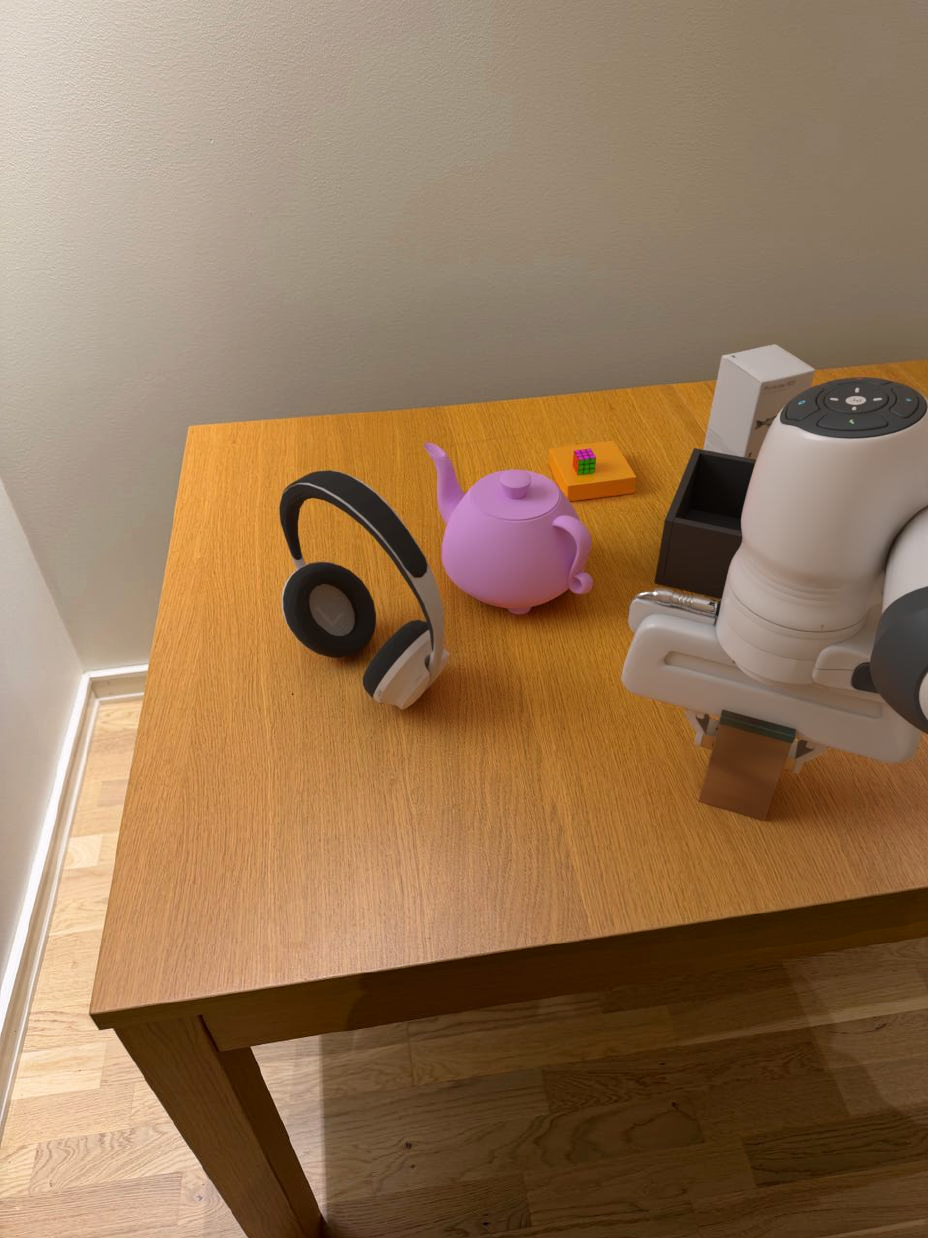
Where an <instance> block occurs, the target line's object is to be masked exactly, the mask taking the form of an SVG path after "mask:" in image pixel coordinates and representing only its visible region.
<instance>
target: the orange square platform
mask: <svg viewBox="0 0 928 1238" xmlns="http://www.w3.org/2000/svg"><path fill="white" fill-rule="evenodd" d="M547 461H548V462H547V465H548V468H549V469H550V471H551V473H552V475H553V477H554V479H555V481H556V483H557V486H558V487H559V488H560V489H561V491H562V492H563V493H564V495H565V496H566V497H567V499H568V500H569V502H570V503H571V502H577V501H585V500H586V501H587V500H593V499H599V498H608V497H616V496H623V495H631V494H635V492H636V484H637V478H638V477H637V475H636V474H635V472H634V470H633V469H632V467H631V465H630V464H629V462H628V460H627V459H626V457H625V456H624V454H623V452H622V451H621V449H620V447H619V446H618V444H617V443H616V441H615V440H606V441H598V442H590V443H581V444H575V445H564V446H557V447H550V448H548V456H547Z"/></svg>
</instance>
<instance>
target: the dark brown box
mask: <svg viewBox="0 0 928 1238" xmlns="http://www.w3.org/2000/svg"><path fill="white" fill-rule="evenodd" d="M755 463H756V459H750V458H745V457H740V456H734V455H729V454H724V453H718V452H713V451H707V450H703V449H702V448H697V447H694V448H693V449H692V452H691V454H690V457H689V459H688V462H687V464H686V467H685V469H684V472H683V474H682V477H681V479H680V482H679V483H678V487H677V489H676V491H675V494H674V496H673V499H672V501H671V503H670V506H669V508H668V510H667V514H666V516H665V519H664V522H663V529H662V534H661V542H660V547H659V553H658V560H657V564H656V571H655V577H654V584H657V585H661V586H665V587H670V588H674V589H678V590H682V591H686V592H691V593H695V594H699V595H704V596H708V597H712V598H717V599H720V600H722V596H723V592H724V587H725V583H726V579H727V575H728V570H729V566H730V564H731V561H732V559H733V557H734V555H735V554H736V552H737V551H738V549H739V548H740V546H741V543H742V530H741V516H742V511H743V506H744V502H745V498H746V494H747V490H748V487H749V483H750V479H751V476H752V473H753V469H754V466H755Z"/></svg>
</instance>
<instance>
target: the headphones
mask: <svg viewBox="0 0 928 1238" xmlns="http://www.w3.org/2000/svg"><path fill="white" fill-rule="evenodd" d="M310 499H316V500H320V501H324V502H326V503H329V504H331V505H333V506H335V507H336V508H338V509H339V510H340V511H342V512H344V513H345V514H347V515H348V516H349V517H350V518H352V519H353V520H354V521H355V522H357V523H358V524H359V525H360V526H362V527H363V528H364V529H365V530H366V531H367V532H368V533H369V534H370V536H372V537H373V539H375V541H376V542H377V543H378V544H379V546H380V547H381V548H382V549H383V551H384V552H385V553H386V554H387V556H389V558H390V559H391V561H392V562H393V563H394V566H395V567H396V568H397V570H398V571H399V573H400V574H401V576H402V577H403V579H404V581H405V582H406V583H407V585H408V586H409V588H410V590H411V591H412V593H413V595H414V597H415V599H416V600H417V602H418V605H419V607H420V609H421V612H422V614H423V616H424V618H425V621H424V620H420V619H413V620H410V621H408V622H406V623H405V624H403V625H402V626H401V627H399V628H398V630H397V631H396V632H394V633H393V634H392V635H391V636H390V637H389V638H388V639H387V640H386V641H385V642H384V643H383V645H382V646H380V648H379V649H378V651H377V652H376V653H375V654H374V656H373V657H372V659H371V660H370V662H369V663H368V666H367V667H366V669H365V670H364V674H363V676H362V686H363V689H364V690H365V692H366V693H367V694H368V695H369V697H371V699H372V700H374V701H375V702H376V703H378V704H379V705H381V704H388V705H392V706H396V707H397V708H398V709H400V710H402V711H403V710H405V709H407V708H408V707H409V708H410V706H411V705H413V704H414V703H416V701H417V700H419V698H420V697H422V695H423V694H424V693H425V692H426V690H428V689H430V687H431V686H432V685H433V683H434V682H435V681H436V680H437V678H438V677H439V676H440V675H441V673H442V672H443V671H444V669H445V668H446V666H447V664H448V662H449V660H450V657H451V654H450V653H449V652H448V651H447V649H446V648H445V609H444V606H443V602H442V601H443V600H442V597H441V594H440V589H439V587H438V584H437V580H436V578H435V575H434V573H433V571H432V568H431V565H430V564H429V561H428V559H427V557H426V555H425V553H424V551H423V550H422V548H421V547H420V545H419V543H418V542H417V540H416V538H415V537H414V536H413V534H412V533H411V531H410V530H409V529H408V527H407V525H406V524H405V523H404V521H403V520H402V519H401V517H400V516H399V514H398V513H397V512H396V511H395V510H394V508H393V507H392V506H391V505H390V504H389V502H388V501H386V500H385V498H384V497H382V496H381V495H380V494H379V493H378V492H377V491H376V490H375V489H374V488H372V487H371V486H370V485H368V484H366V483H365V482H364V481H362V480H360V479H359V478H356V477H355V476H353V475H350V474H348V473H344V472H342V471H340V470H339V471H338V470H331V469H327V470H326V469H325V470H317V471H312V472H310V473H307V474H306V475H304V476H302V477H300V478H298V479H296V480H295V481H293V482H290V483H289V484H288V485H287V486H286V487H285V488H284V489H283V492H282V495H281V498H280V502H279V506H278V510H279V521H280V525H281V528H282V529H281V530H282V531H283V535H284V538H285V541H286V544H287V547H288V550H289V553H290V556H291V559H292V561H293V563H294V567H295V569H296V570H294V571H293V572H292V573H291V575H290V576H289V577H288V578H287V580H286V581H285V584H284V586H283V589H282V592H281V611H282V616H283V619H284V622H285V624H286V625H287V627H288V629H289V631H290V633H291V634H292V635H293V636H294V637H295V639H296V640H297V641H299V643H301V645H302V646H304V647H306V648H307V649H308V650H309V651H310V652H312V653H314V654H316V655H319V656H324V657H327V658H334V659H342V658H349V657H353V656H355V655H358V654H359V653H361V652H362V651H363V650H365V648H367V647H368V645H369V644H370V642H371V641H372V638H373V637H374V634H375V632H376V626H377V611H376V607H375V602H374V601H375V600H374V599H373V597H372V595H371V593H370V590H369V588H368V587H367V586H366V584H365V583H364V582H363V580H362V579H361V578H360V577H359V576H357V574H355V573H354V572H353V571H351V570H350V569H349V568H346V567H344V566H343V565H340V564H336V563H333V562H331V561H313V562H309V563H307V564H306V561H305V557H304V555H303V552H302V547H301V542H300V536H299V519H300V512H301V508H302V506H303V504H304V503H305V501H307V500H310Z"/></svg>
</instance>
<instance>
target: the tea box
mask: <svg viewBox="0 0 928 1238" xmlns="http://www.w3.org/2000/svg"><path fill="white" fill-rule="evenodd" d="M718 721H719V725H718V729H717V733H716V737H715V741H714V744H713V748H712V750H711V751H710V755H709V758H708V763H707V766H706V770H705V774H704V778H703V781H702V786H701V788H700V789H701V790H700V794H699V798H698V802H700V803H703V804H706V805H709V806H712V807H716V808H719V809H723V810H726V811H729V812H733V813H736V814H739V815H743V816H746V817H749V818H752V819H756V820H759V821H763V822H764V821H765V820H766V817H767V814H768V811H769V809H770V806H771V803H772V801H773V798H774V794H775V792H776V789H777V786H778V784H779V781H780V778H781V775H782V772H783V771H784V770H783V767H784V764H785V761H786V759H787V756H788V753H789V750H790V747H791V745H792V743H793V741H795V739H796V738H795V735H796V729H793V728H790V727H786V726H782V725H779V724H775V723H771V722H767V721H764V720H760V719H756V718H753V717H749V716H745V715H741V714H738V713H734V712H730V711H727V710H722V712H721V715H720V718H719V720H718Z"/></svg>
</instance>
